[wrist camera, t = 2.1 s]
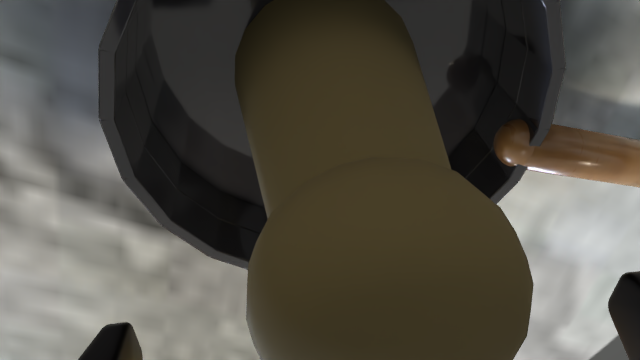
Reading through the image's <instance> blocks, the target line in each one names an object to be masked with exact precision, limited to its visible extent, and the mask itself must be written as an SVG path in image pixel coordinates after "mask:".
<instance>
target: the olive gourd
mask: <svg viewBox="0 0 640 360" xmlns="http://www.w3.org/2000/svg"><path fill="white" fill-rule="evenodd" d="M235 87H236V91H237V95H238V99H239V103H240V107H241V111H242V115H243V120H244V124H245V128H246V132H247V136H248V140H249V144H250V148H251V153H252V157H253V161H254V165H255V169H256V173H257V177H258V181H259V186H260V190H261V194H262V198H263V202H264V206H265V210H266V214H267V218H268V220H267V222H266V224H265V226H264V228H263V230H262V231H261V233H260V235H259V237H258V239H257V241H256V244H255V247H254V249H253V252H252V255H251V258H250V261H249V264H248V282H247V310H246V320H247V324H248V327H249V330H250V334H251V337H252V340H253V344H254V346H255V348H256V350H257V352H258V354H259V356H260V359H261V360H513V359H514V357H515V355H516V354H517V352H518V350H519V348H520V347H521V345H522V343H523V342H524V340H525V338H526V337H527V332H528V325H529V319H530V312H531V302H532V293H533V280H532V276H531V272H530V268H529V264H528V260H527V257H526V255H525V252H524V250H523V248H522V246H521V243H520V241H519V239H518V236H517V234H516V232H515V230H514V228H513V227H512V225H511V224H510V222H509V220H508V219H507V217H506V216H505V214H504V213H503V211H502V209H501V208H500V207H499V206H497V205H496V204H495V203H494V202H493V201H491V200H490V199H489V198H488V197H487V196H486V195H484V194H483V193H482V192H481V191H480V190H478V189H477V188H476V187H475V186H474V185H472V184H471V183H470V182H469V181H468V180H466V179H465V178H464V177H463V176H462V175H460V174H459V173H458V172H457V171H454V170H452V169H451V166H450V163H449V159H448V156H447V153H446V150H445V146H444V143H443V140H442V136H441V133H440V130H439V127H438V123H437V120H436V117H435V113H434V110H433V107H432V103H431V100H430V97H429V94H428V90H427V87H426V84H425V80H424V77H423V74H422V71H421V67H420V64H419V61H418V57H417V54H416V51H415V47H414V44H413V41H412V39H411V37H410V35H409V32H408V30H407V28H406V26H405V24H404V22H403V20H402V17H401V16H400V15H399V14H398V13H397V12H396V11H395V10H394V9H393V8H392V7H391V6H390V5H389V4H388V3H387V2H386V1H385V0H273V1H271V2H270V3H268V4H267V5H265V6H264V7H263V8H262V10H261V11H260V12H259V13H258V14H257V16H256V17H255V18H254V19H253V20H252V22H251V23H250V24H249V25H248V26H247V28H246V29H245V31H244V34H243V36H242V39H241V42H240V44H239V47H238V50H237V52H236V55H235Z"/></svg>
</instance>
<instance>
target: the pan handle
mask: <svg viewBox="0 0 640 360" xmlns="http://www.w3.org/2000/svg"><path fill="white" fill-rule="evenodd" d="M529 140H530V133H529V128H528V125H527V124H526V122H525V121H523V120H521V119H514V120H511V121H509V122H507V123H505V124H504V125H502V126H501V127H500V128H499V130H498V131H497V133H496V135H495V137H494V142H493V146H494V151H495V154H496V156H497V157H498V159H499V160H500V161H501V162H502V163H504V164H505V165H507V166H515V165H517V164H520V165H523V166H527V169H526V170H530V171H537V172H543V173H550V174H556V175H562V176H569V177H575V178H582V179H588V180H595V181H601V182H607V183H614V184H620V185H627V186H633V187H640V140H637V139H632V138H626V137H621V136H615V135H610V134H604V133H599V132H593V131H588V130H582V129H577V128H571V127H566V126H560V125H555V124H551V128H550V130H549V132H548V134H547V136H546V137H545V139H544V141H543V142H542V144H541V146H529Z"/></svg>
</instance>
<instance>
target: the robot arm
mask: <svg viewBox="0 0 640 360" xmlns="http://www.w3.org/2000/svg"><path fill="white" fill-rule="evenodd" d="M608 308H609V313H610V315H611V318H612V320H613V322H614V325H615V327H616V329H617V332H618V334H619V336H620V339H621V341H622V343H623V346H624V348H625V351H626V353H627V355H628V358H629V360H640V271H638V272H628V273H625V274H623V275H622V276H621V278H620V279H619V281H618V283H617V285H616V287H615V289H614V291H613V293H612V295H611V297H610V299H609V302H608ZM78 360H143V357H142V350H141V347H140V345H139V342H138V339H137V337H136V334H135V332H134V329H133V327H132V325H131V324H130V323H116V324H108V325H106V326H105V327H103V328H102V329H101V331H100V332H99V333H98V334H97V336H96V337H95V338H94V340H93V341H92V342H91V344H90V345H89V346H88V347H87V349H86V350H85V351H84V353H83V354H82V355H81V356H80V358H79V359H78Z"/></svg>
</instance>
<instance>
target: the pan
mask: <svg viewBox="0 0 640 360" xmlns="http://www.w3.org/2000/svg"><path fill="white" fill-rule="evenodd" d="M271 1H273V0H117V1H116V4H115V6H114V9H113V11H112V14H111V16H110V19H109V22H108V24H107V27H106V29H105V32H104V34H103V37H102V39H101V42H100V45H99V49H98V71H99V121H100V123H101V126H102V129H103V131H104V134H105V136H106V139H107V142H108V144H109V147H110V149H111V152H112V155H113V157H114V160H115V162H116V165H117V167H118V170H119V173H120V175H121V178H122V179H123V181H124V182H125V184H126V185H127V186H128V187H129V188H130V189H131V191H132V192H133V193H134V194H135V195H136V197H137V198H138V199H139V200H140V201H141V202H142V204H143V205H144V206H145V207H146V208H147V210H148V211H149V212H150V213H151V214H152V215H153V217H154V218H155V219H156V220H157V221H158V223H159V224H160V225H162V227H164V228H165V229H167V230H169V231H170V232H172V233H173V234H175V235H176V236H178V237H179V238H181V239H182V240H184V241H185V242H187V243H189V244H190V245H192V246H193V247H195V248H196V249H198V250H199V251H201V252H202V253H204V254H205V255H207V256H209V257H211V258H214V259H217V260H220V261H223V262H226V263H229V264H232V265H235V266H238V267H241V268H244V269H247V270H248V264H249V261H250V258H251V255H252V252H253V249H254V247H255V244H256V241H257V239H258V237H259V235H260V233H261V231H262V230H263V228H264V226H265V224H266V222H267V220H268V218H267V214H266V210H265V206H264V202H263V198H262V194H261V190H260V186H259V181H258V177H257V173H256V169H255V165H254V161H253V157H252V153H251V148H250V144H249V140H248V136H247V132H246V128H245V124H244V120H243V115H242V111H241V107H240V103H239V99H238V95H237V91H236V87H235V55H236V52H237V50H238V47H239V44H240V42H241V39H242V36H243V34H244V31H245V29H246V28H247V26H248V25H249V24H250V23H251V22H252V20H253V19H254V18H255V17H256V16H257V14H258V13H259V12H260V11H261V10H262V8H263V7H264V6H265V5H267V4H268V3H270V2H271ZM385 1H386V2H387V3H388V4H389V5H390V6H391V7H392V8H393V9H394V10H395V11H396V12H397V13H398V14H399V15H400V16H401V17H402V20H403V22H404V24H405V26H406V28H407V30H408V32H409V35H410V37H411V39H412V41H413V44H414V47H415V51H416V54H417V57H418V61H419V64H420V67H421V71H422V74H423V77H424V80H425V84H426V87H427V90H428V94H429V97H430V100H431V103H432V107H433V110H434V113H435V117H436V120H437V123H438V127H439V130H440V133H441V136H442V140H443V143H444V146H445V150H446V153H447V156H448V159H449V163H450V166H451V169H452V170H454V171H457V172H458V173H459V174H460V175H462V176H463V177H464V178H465V179H466V180H468V181H469V182H470V183H471V184H472V185H474V186H475V187H476V188H477V189H478V190H480V191H481V192H482V193H483V194H484V195H486V196H487V197H488V198H489V199H490V200H491V201H493V202H494V203H495V204H497V203H498V202H499V201H500V200H501V199H502V198H503V197H504V196H505V195H506V194H507V193H508V192H509V191H510V190H511V189H512V188H513V187H514V186H515V185H516V184H517V183H518V181H520V179H521V177H522V176H523V174H524V172H525V171H526V169H527V166H523V165H520V164H517V165H515V166H507V165H505V164H504V163H502V162H501V161H500V160H499V159H498V157H497V156H496V154H495V151H494V146H493V142H494V137H495V135H496V133H497V131H498V130H499V128H500V127H501V126H502V125H504V124H505V123H507V122H509V121H511V120H514V119H521V120H523V121H525V122H526V124H527V125H528V128H529V133H530V140H529V146H541V144H542V142H543V141H544V139H545V137H546V136H547V134H548V132H549V130H550V128H551V124H552V121H553V117H554V113H555V109H556V105H557V101H558V97H559V93H560V89H561V85H562V81H563V77H564V73H565V69H566V68H565V67H566V62H565V51H564V40H563V29H562V18H561V7H560V0H385Z"/></svg>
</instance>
